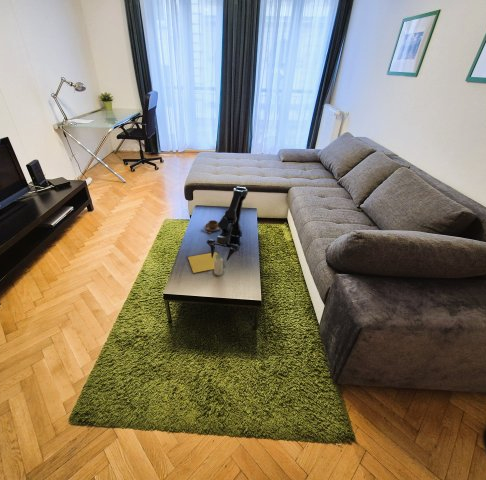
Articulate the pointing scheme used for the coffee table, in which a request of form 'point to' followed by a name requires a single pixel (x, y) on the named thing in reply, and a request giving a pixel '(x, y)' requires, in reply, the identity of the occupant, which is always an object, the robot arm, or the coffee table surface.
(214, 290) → the coffee table surface
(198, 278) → the coffee table surface
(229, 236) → the robot arm
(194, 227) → the coffee table surface
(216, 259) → the bottle
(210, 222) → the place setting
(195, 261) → the cloth
